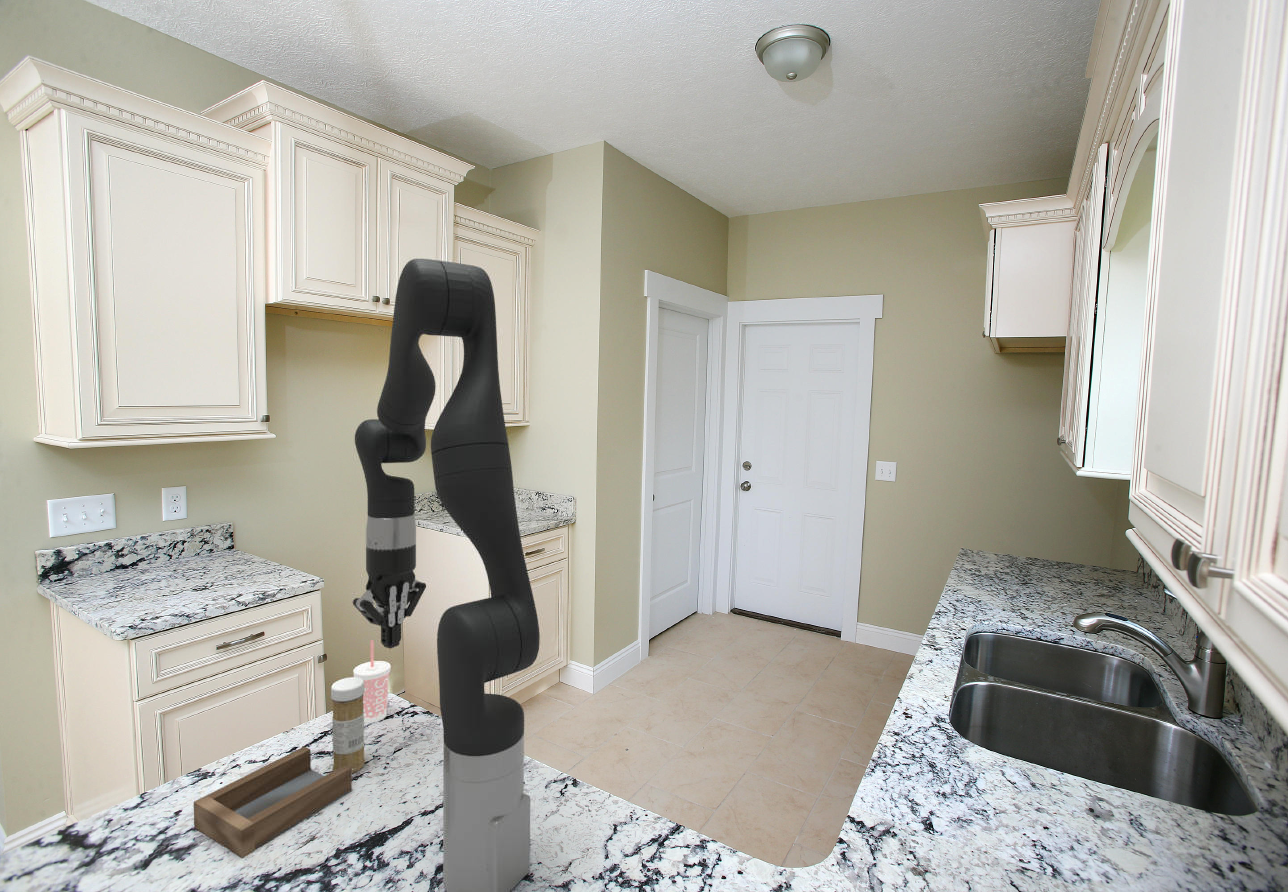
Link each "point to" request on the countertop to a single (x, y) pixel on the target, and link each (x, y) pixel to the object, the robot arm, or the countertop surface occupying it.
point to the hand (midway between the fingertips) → (391, 645)
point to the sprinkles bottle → (348, 723)
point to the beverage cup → (374, 687)
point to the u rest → (268, 802)
